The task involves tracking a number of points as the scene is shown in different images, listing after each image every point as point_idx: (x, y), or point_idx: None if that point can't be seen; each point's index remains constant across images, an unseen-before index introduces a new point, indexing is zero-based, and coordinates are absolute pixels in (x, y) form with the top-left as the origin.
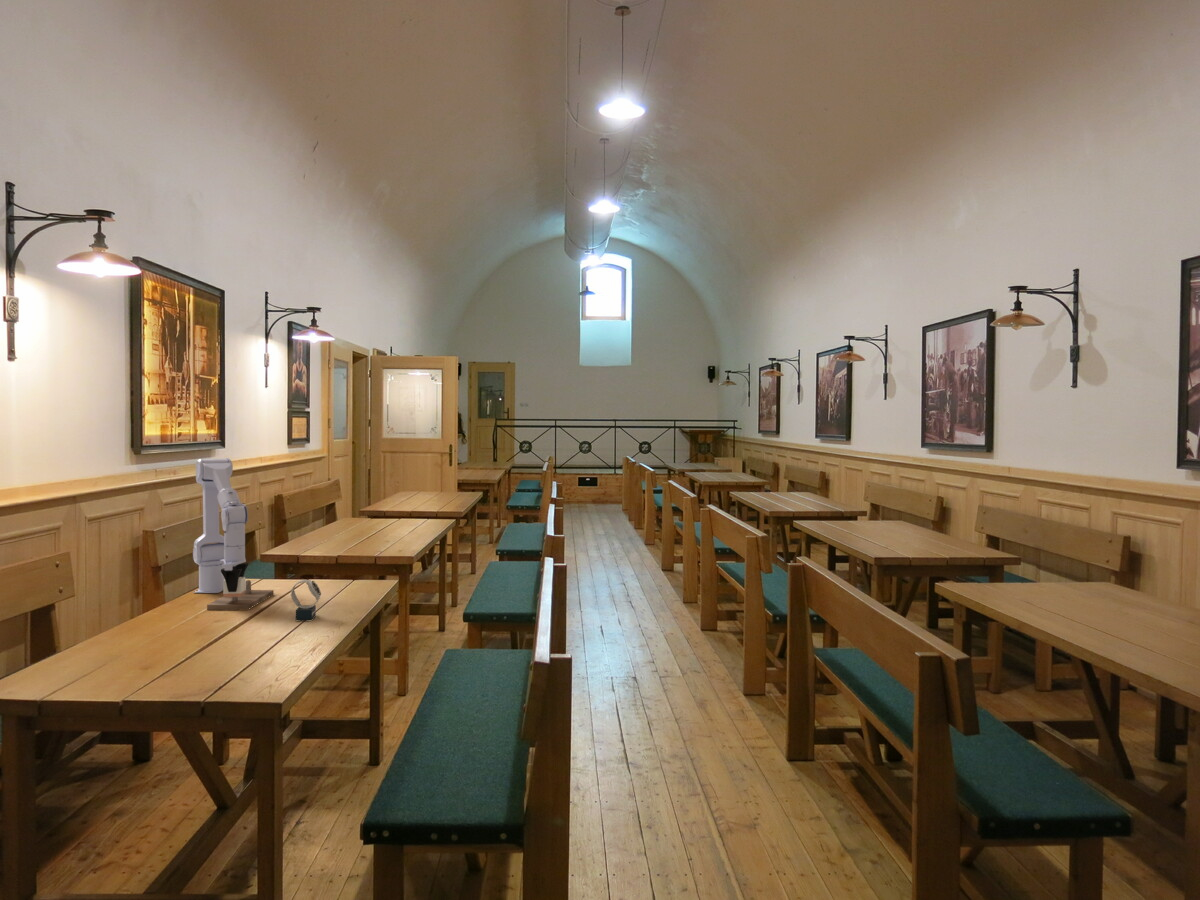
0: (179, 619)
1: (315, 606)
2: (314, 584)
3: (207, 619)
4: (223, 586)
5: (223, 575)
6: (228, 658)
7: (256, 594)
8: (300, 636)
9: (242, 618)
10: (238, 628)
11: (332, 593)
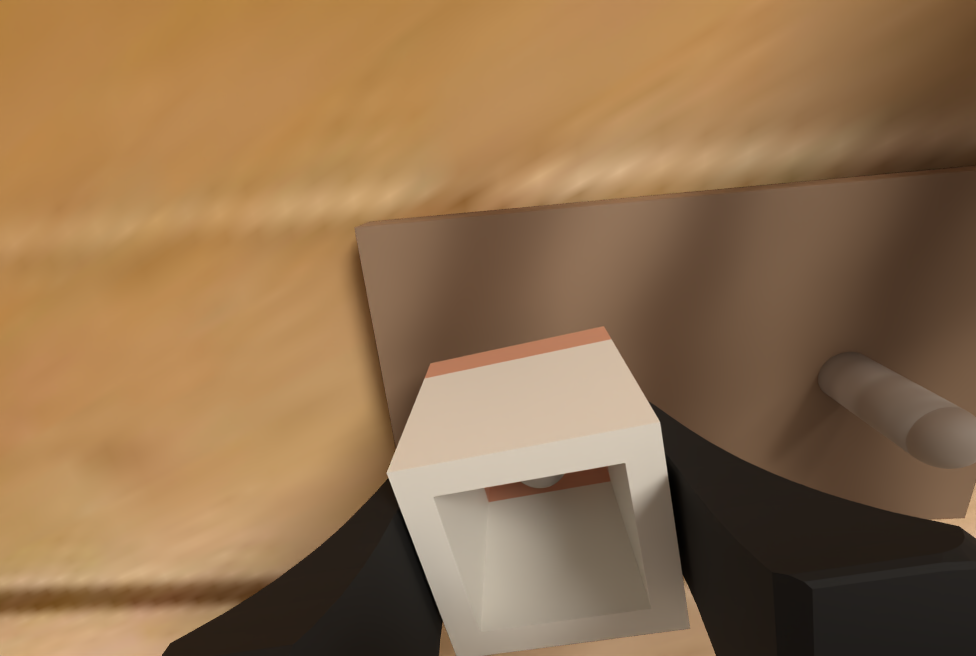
0: (35, 167)
1: None
2: None
3: (122, 376)
4: (409, 423)
5: (248, 604)
6: None
7: (788, 457)
8: None
9: (222, 559)
10: (39, 617)
11: None
